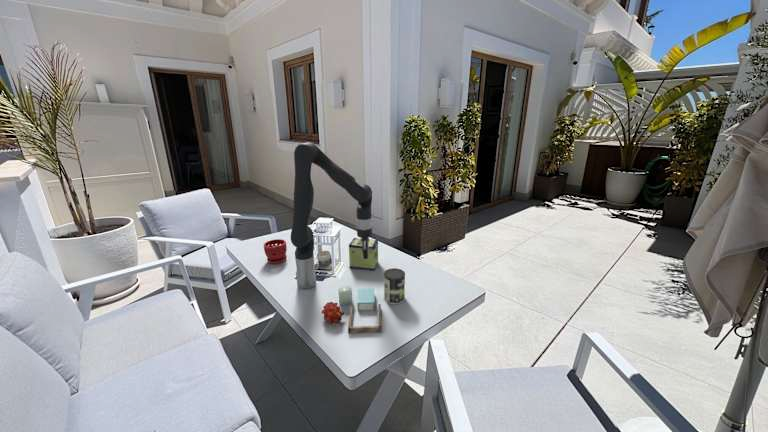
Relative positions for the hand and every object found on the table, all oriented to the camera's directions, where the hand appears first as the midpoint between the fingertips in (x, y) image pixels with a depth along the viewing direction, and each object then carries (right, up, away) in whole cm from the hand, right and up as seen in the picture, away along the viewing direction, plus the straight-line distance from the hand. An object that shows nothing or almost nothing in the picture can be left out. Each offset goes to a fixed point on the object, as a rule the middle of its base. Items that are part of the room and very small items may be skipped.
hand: (365, 258), depth 150 cm
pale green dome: (-10, -21, -4) cm, 23 cm away
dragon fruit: (-14, -25, -16) cm, 33 cm away
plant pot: (-58, -7, +38) cm, 69 cm away
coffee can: (+14, -20, -1) cm, 25 cm away
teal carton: (+1, -21, -4) cm, 22 cm away
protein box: (-3, -9, +31) cm, 32 cm away
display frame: (+1, -25, -16) cm, 30 cm away
